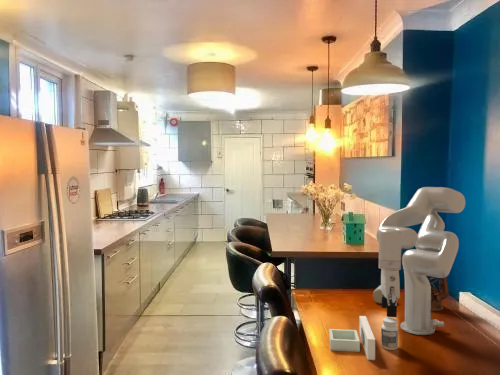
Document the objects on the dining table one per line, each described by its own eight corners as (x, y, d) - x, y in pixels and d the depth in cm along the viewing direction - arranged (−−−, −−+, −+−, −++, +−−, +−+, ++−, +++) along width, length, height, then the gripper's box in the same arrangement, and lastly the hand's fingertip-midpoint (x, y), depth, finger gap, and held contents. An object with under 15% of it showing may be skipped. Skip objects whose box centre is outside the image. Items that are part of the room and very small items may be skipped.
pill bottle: (384, 342, 151) (384, 315, 150) (400, 346, 147) (400, 319, 147) (378, 347, 146) (378, 320, 146) (394, 352, 143) (394, 323, 142)
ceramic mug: (371, 302, 195) (371, 286, 195) (377, 298, 202) (377, 282, 201) (394, 307, 189) (394, 291, 188) (399, 302, 195) (399, 286, 195)
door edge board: (365, 333, 159) (365, 316, 158) (375, 360, 137) (375, 339, 136) (358, 333, 159) (358, 315, 159) (366, 359, 137) (366, 339, 137)
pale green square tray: (356, 339, 153) (356, 330, 153) (359, 351, 143) (359, 341, 143) (329, 338, 155) (329, 328, 154) (330, 350, 145) (330, 339, 145)
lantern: (407, 308, 187) (407, 242, 186) (409, 299, 199) (409, 238, 198) (448, 313, 180) (449, 245, 179) (448, 304, 192) (448, 240, 191)
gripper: (406, 270, 136) (405, 321, 137) (395, 259, 153) (394, 305, 154) (383, 269, 137) (382, 320, 138) (374, 259, 154) (374, 304, 155)
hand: (388, 312), depth 146 cm, fingers open, 9 cm apart
